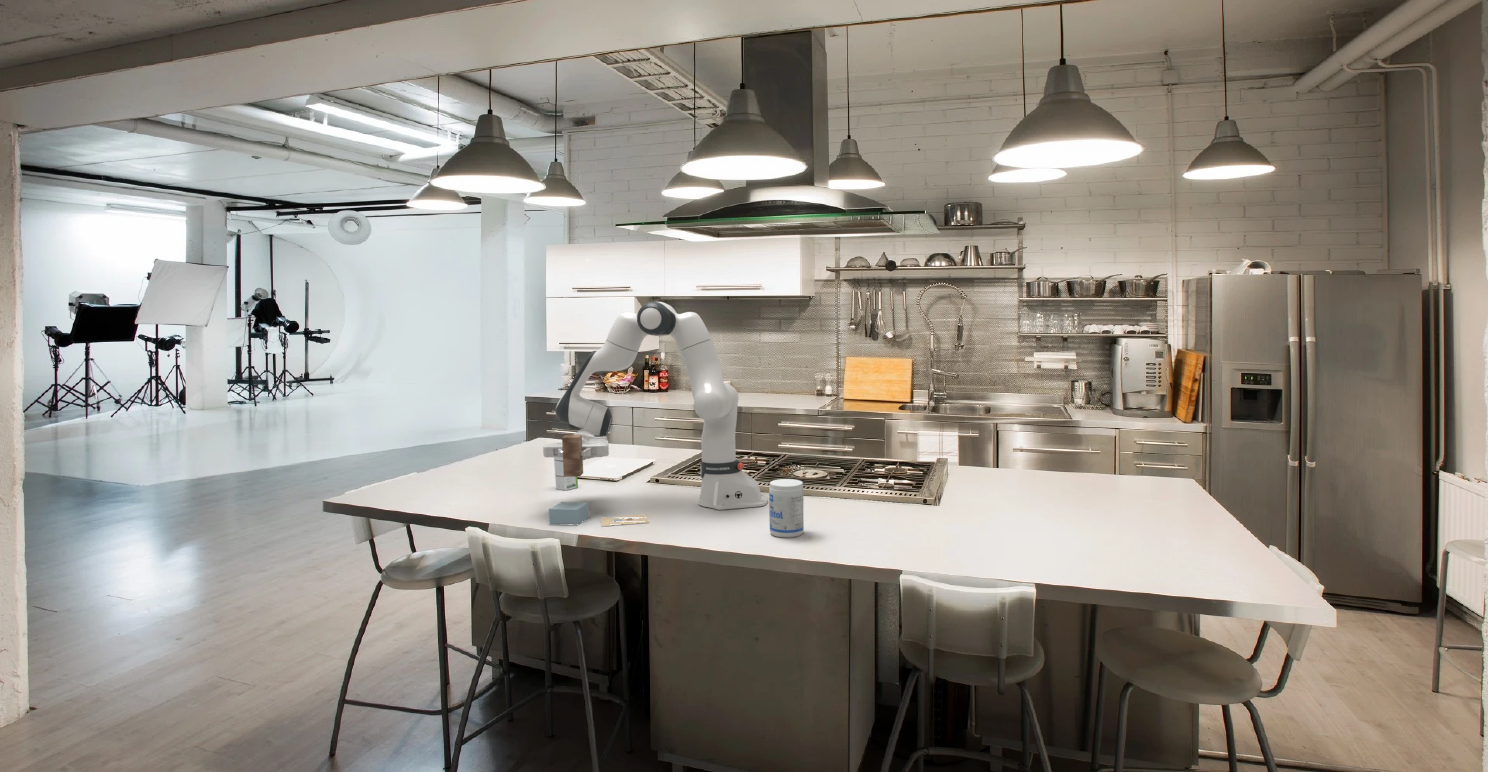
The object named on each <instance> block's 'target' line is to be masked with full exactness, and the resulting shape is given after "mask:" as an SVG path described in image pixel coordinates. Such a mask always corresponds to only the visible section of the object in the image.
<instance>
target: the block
mask: <svg viewBox="0 0 1488 772" xmlns="http://www.w3.org/2000/svg"><path fill="white" fill-rule="evenodd" d="M561 443H562V448H563V472H564V477H576V476H577V477H582V475H584V460H583V457H581V456H580V455H581V454H580V451H581V450H582V435H574V434H565V435H563V436H562V438H561Z"/></svg>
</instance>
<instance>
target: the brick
mask: <svg viewBox="0 0 1488 772" xmlns="http://www.w3.org/2000/svg"><path fill="white" fill-rule="evenodd" d="M589 504H590V503H589V502H586V501H585V502H583V501H581V502H580V501H576V502H575V501H561V502H559V503H556V504H555V505H554V506H552V507H549V508H548V516H549V517H548V518H549V525H550V524H579V525H580V524H582V523H583V522H585V521H586V520H588V519H589V518H590V506H589ZM588 517H589V518H588ZM587 518H588V519H587ZM584 520H585V521H584ZM582 521H583V522H582ZM581 522H582V523H581Z"/></svg>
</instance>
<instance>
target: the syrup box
mask: <svg viewBox="0 0 1488 772" xmlns="http://www.w3.org/2000/svg"><path fill="white" fill-rule="evenodd" d="M553 463H554V477H555V478H554V479H555V488H556V490H560V491H569V490H572V489H577V488H578V487H579V483H578V482H579V481H578V480H579V479H578V476H576V477H564V472H563V457H553Z"/></svg>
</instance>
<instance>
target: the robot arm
mask: <svg viewBox="0 0 1488 772" xmlns="http://www.w3.org/2000/svg"><path fill="white" fill-rule="evenodd" d="M647 336H655V337H664V336H671V337H672V338H673V339H674V340H675V343H676V345H677V348H678V351H679V353H680V356H681V358H682V361H683V364H684V366H685V369H686V372H687V375H688V379H689V380H688V381H689V383H690V390H691V394H692V398H693V408H694V412H695V414H696V415H697V416H698V417H699V418H700V419H702V420H703V427H702V433H701V437H700V438H701V440H700V443H701V461H700V478H701V485H700V486H701V487H700V494H699V498H698V499H699V500H698V502H697V503H698V505H700V506H701V507H706V508H710V509H714V510H719V511H720V510H721V511H722V510H733V509H747V508H758V507H763V506H766V505H767V504H768V499H767V498H768V497H767V496H766V495H764V494H762V493H761V489H760V485H759V483H758V482H757V481H756V480H755V479H754V478H753V477H751V476H750V475H749V474H747V473H746V472H744V471H743V469H744V468H745V465H744V463H743V462H742V461H741V460H739V459H737V458H736V453H737V452H736V432H737V431H736V430H737V429H736V428H737V421H738V420H737V419H738V404H739V393H738V391H737V389H735V387H734V386H732V385H731V384H729V383H725V382H724V380H723V375H722V369H721V361H720V357H719V355H718V352H717V350H716V348H715V345H714V343H713V340H712V336H711V334H710V332H709V330H708V328H707V326H706V325H705V322H704V321H703V319H702V318H701V316H700V315H699V314H698V313H696V312H693V311H686V312H682V313H679V311H678V310H677V309H676V308H675V307H674V306H673V305H671V304H668V303H665V302H663V301H650V302H646V303H645V304H643V305H642V306H641V307H640V308H639V310H638V312H637V313H635V312H631V311H630V312H629V311H625V312H622V313H620V314H619V315H618V316H617V318H616V319H615V320H614V323H613V324H612V326H611V328H610V329H609V332H608V335H607V337H606V340H605V342H604V343H603V345H602V346H601V347H600V348H599V349H597V350H593V351H590V353H589V355H588V356H587V357H586V358H585V360H584V362H583V363H582V365H581V366H580V368H579V369H578V371H577V372H576V374H575V376H574V378H573V379H572V381H571V383H570V384H569V386H568V388H567V390H566V391H565V392H564V394H563V395H562V396H561V397H560V399H559V400H558V402H557V404H556V407H555V410H554V411H555V415H556V417H557V419H558V420H559V422H560V423H564V424H566V425H572V426H574V427H577V428H579V430H578V431H576V432H575V433H573V435H582V450H581V451H580V454H581V455H580V456H581V457H583V461H585V460H589V459H594V458H602V457H609V456H610V455H609V454H610V447H609V440H608V436H607V435H608V433H609V431H610V429H611V426H612V423H613V415H612V411H611V409H610V408H609V407H608V406H606V405H603V404H601V403H598V402H594V401H592V400H589V399H587V398H583V397H582V396H581V391H582V390H583V388H584V387H585V385H586V384H587V381H589V379H590V377H591V375H592V374H594V373H597V372H618V371H619V372H620V371H624V370H627V369H628V368H629V367H631V366H633V363H634V362H635V360H636V358H637V355H638V354H639V351H640V348H641V345H642V343H643V340H644V339H645V338H647ZM542 447H543V448H542V450H543V451H542V453H543V457H544V458H554V457H563V448H562V442H551V443H547V444H546V445H544V446H542Z"/></svg>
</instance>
